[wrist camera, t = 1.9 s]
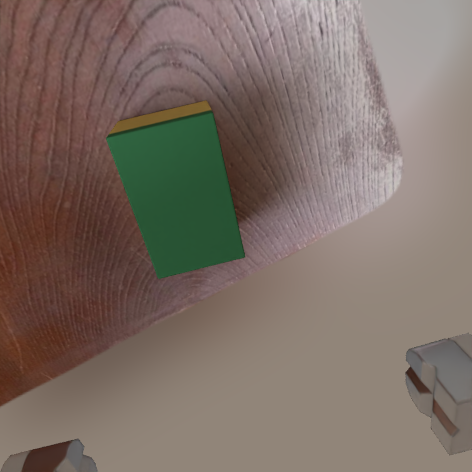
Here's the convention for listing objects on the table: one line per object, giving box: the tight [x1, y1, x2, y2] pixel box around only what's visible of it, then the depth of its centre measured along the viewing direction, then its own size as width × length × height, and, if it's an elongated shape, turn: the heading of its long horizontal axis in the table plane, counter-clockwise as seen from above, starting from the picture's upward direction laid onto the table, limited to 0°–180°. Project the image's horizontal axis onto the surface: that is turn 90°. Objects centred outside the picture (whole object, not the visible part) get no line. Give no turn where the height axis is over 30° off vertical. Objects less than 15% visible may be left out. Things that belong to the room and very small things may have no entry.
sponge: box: [106, 101, 245, 279], centre depth 20 cm, size 8×5×4 cm, turn 11°
